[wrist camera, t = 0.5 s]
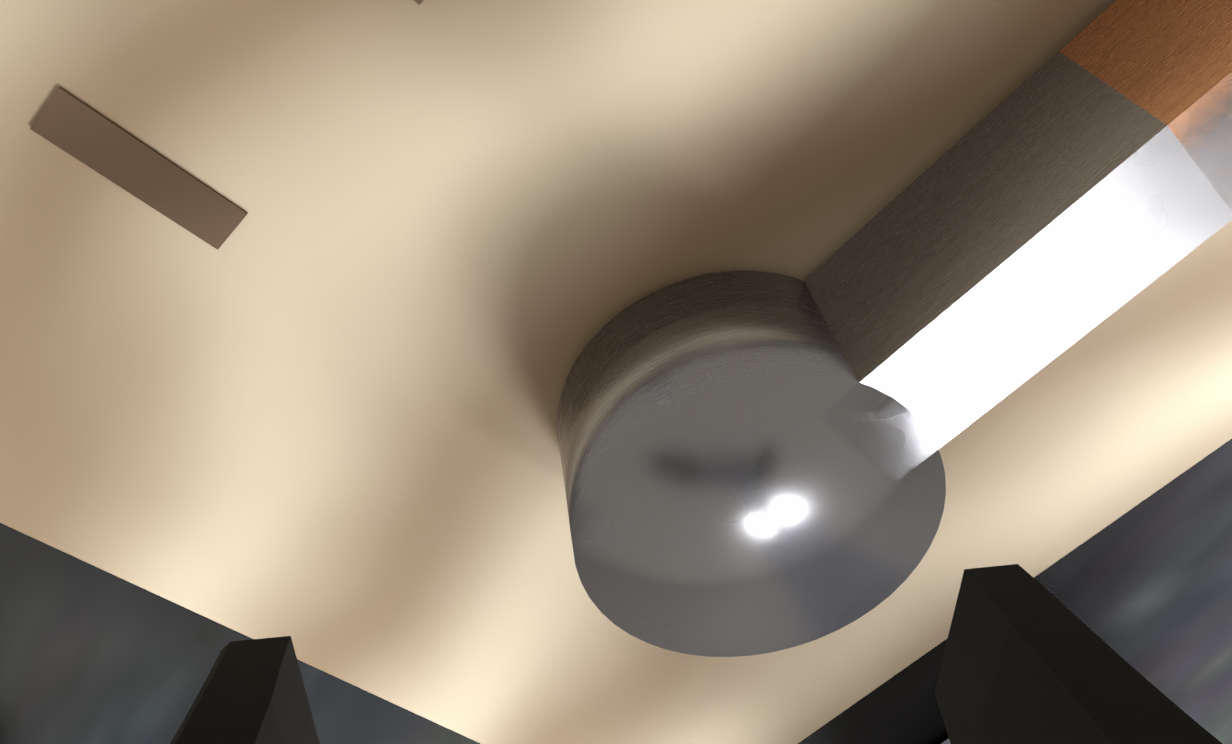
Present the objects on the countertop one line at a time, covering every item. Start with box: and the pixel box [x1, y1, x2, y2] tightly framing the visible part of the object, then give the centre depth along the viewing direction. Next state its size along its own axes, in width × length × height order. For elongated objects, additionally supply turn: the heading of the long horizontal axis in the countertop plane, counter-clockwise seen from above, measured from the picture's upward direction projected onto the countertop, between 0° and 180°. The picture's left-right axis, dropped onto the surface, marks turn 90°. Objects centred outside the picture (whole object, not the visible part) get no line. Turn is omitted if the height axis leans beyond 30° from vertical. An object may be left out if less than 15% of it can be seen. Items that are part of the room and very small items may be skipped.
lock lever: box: [557, 0, 1232, 657], centre depth 17 cm, size 15×6×3 cm, turn 136°
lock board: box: [0, 0, 1232, 744], centre depth 19 cm, size 22×22×2 cm
